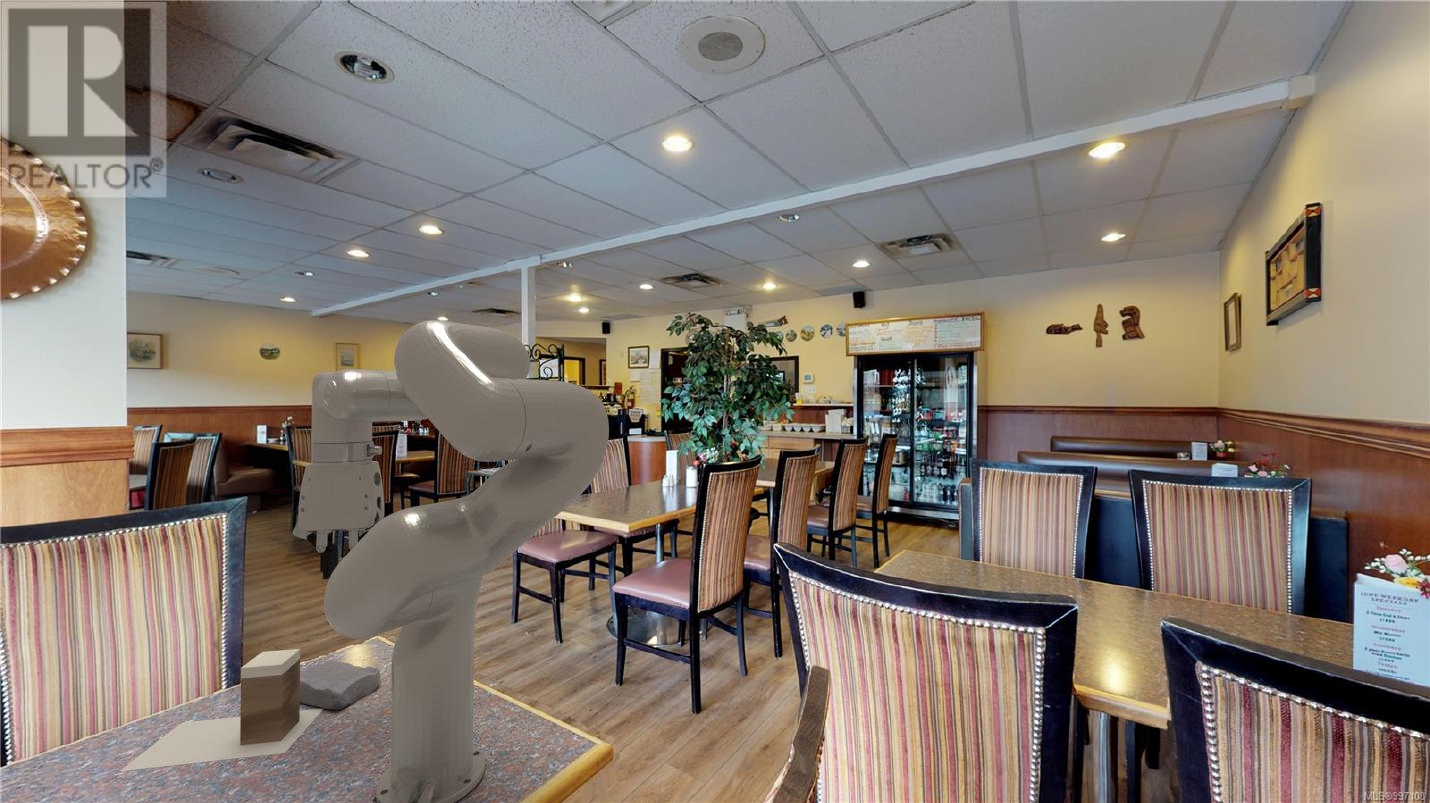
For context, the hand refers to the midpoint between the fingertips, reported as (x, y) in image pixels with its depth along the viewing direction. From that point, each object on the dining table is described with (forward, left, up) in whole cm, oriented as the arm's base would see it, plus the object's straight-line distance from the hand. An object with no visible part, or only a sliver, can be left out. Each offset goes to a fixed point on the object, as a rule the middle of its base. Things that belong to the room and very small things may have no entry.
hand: (341, 574), depth 81 cm
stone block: (+11, +5, -23) cm, 26 cm away
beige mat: (0, +14, -23) cm, 27 cm away
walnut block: (0, +9, -23) cm, 24 cm away
